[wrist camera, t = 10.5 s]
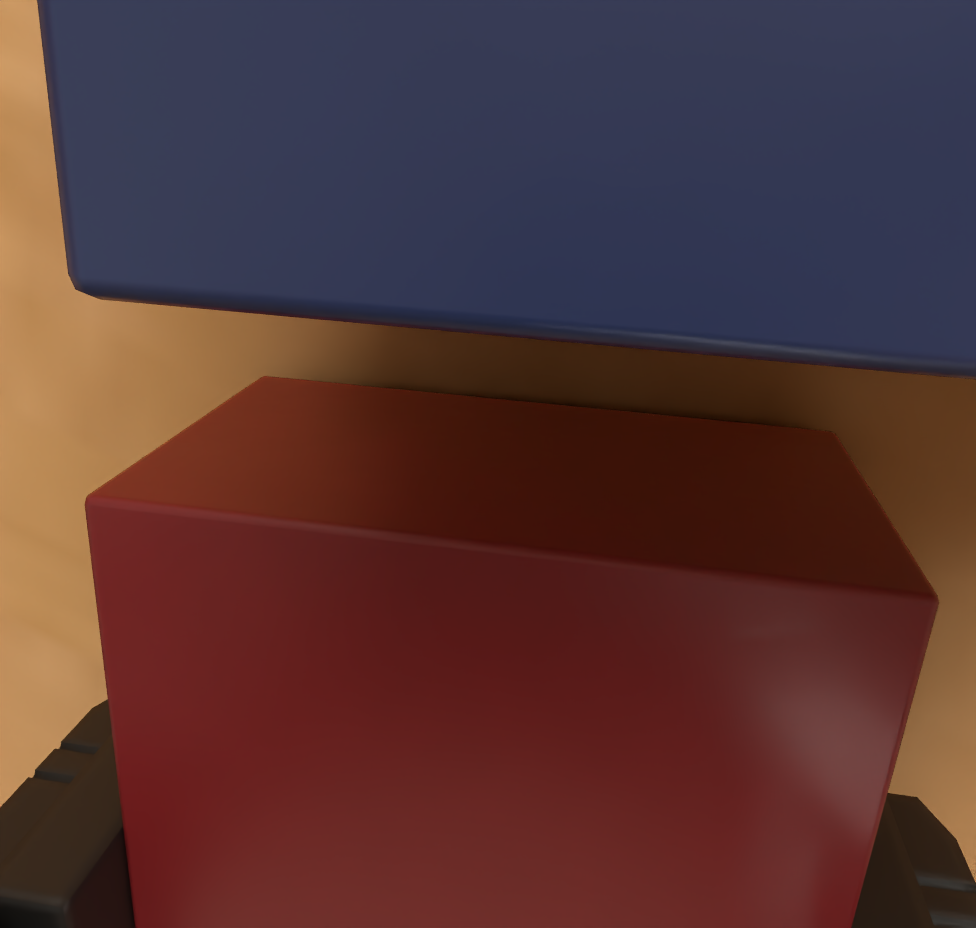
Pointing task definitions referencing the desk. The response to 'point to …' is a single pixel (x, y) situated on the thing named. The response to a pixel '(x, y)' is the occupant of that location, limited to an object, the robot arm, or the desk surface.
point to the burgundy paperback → (499, 666)
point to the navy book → (534, 168)
